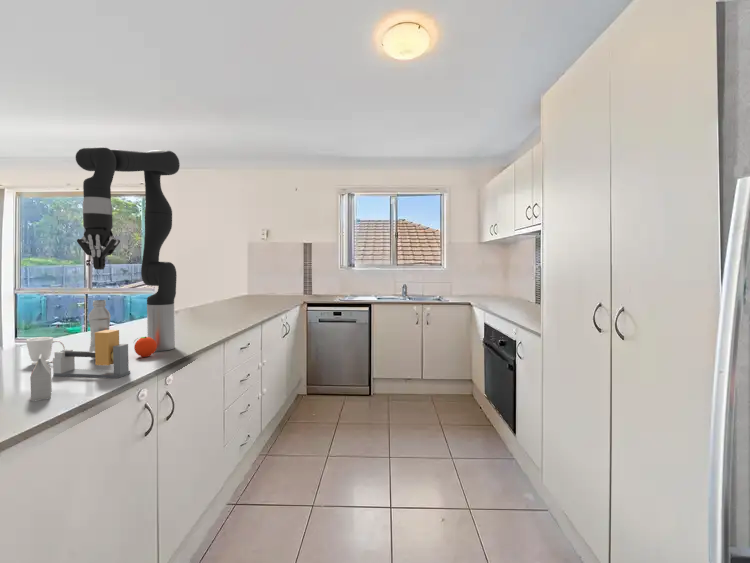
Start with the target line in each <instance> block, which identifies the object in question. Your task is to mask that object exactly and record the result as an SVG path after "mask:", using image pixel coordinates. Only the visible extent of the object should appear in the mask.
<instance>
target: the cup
mask: <svg viewBox="0 0 750 563" xmlns="http://www.w3.org/2000/svg"><path fill="white" fill-rule="evenodd" d="M25 343H26V348H27V351H28V355H29V357H30V358H29V359H31V360H30V361H32V363H31V365H33V366H35V365H36V363H37V362H38V359H39V356H40V354H42V355H43V358H44V359H45V361H46V362H47V364H48V362H50V363H53V359H52V360H50V358H51V355H52V347H53V343H59V344H60V345H62V348H63V349H62V350H66V346H65V344H64V343H63V341H61V340H58V339H57V340H55V339H54V337H52V336H38V337H31V338H27V339H26V340H25ZM49 360H50V361H49Z"/></svg>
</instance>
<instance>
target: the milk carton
mask: <svg viewBox="0 0 750 563" xmlns="http://www.w3.org/2000/svg"><path fill="white" fill-rule="evenodd" d="M46 361H47V360H46ZM46 361H45V359H44V358H43V355H42V354H40V356H39V359H38V362H37V363H36V365H34V367H33V369H32V371H31V374H30V402H36V401H35V400H37V401H42V400H41V399H44V400H48V399H47V398H50V399H51V398H52V393H51V392H52V391H53V390H52V389H53V388H52V368H51V367H50V365H49V364H48V363H47V362H46Z"/></svg>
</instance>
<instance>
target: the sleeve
mask: <svg viewBox="0 0 750 563" xmlns="http://www.w3.org/2000/svg"><path fill="white" fill-rule="evenodd" d="M119 344H120V330H119V329H109V330H103V331H99V332H95V359H94V360H95V363H94V364H95V366H111V365H114V364H113V360H112V359H111V352H112V351H113V346H116V345H119Z"/></svg>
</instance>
